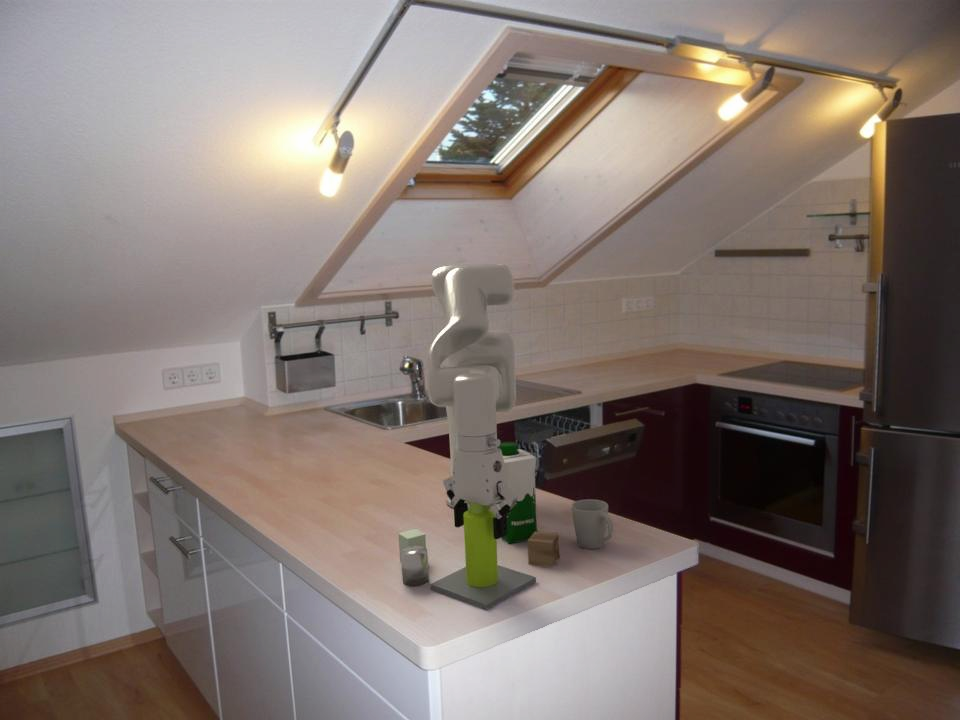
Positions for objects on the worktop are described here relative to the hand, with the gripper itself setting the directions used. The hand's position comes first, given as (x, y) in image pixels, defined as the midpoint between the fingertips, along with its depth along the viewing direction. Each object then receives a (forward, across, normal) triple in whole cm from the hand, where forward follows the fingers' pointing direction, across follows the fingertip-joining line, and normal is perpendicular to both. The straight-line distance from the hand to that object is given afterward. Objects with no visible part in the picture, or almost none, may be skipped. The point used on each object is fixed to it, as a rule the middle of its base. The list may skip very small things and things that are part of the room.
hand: (480, 530), depth 148 cm
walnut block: (+11, -2, -16) cm, 19 cm away
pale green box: (+11, +19, 0) cm, 22 cm away
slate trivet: (+11, 0, 0) cm, 11 cm away
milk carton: (+11, +11, -23) cm, 27 cm away
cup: (+11, -6, -28) cm, 30 cm away
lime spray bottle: (+10, 0, 0) cm, 10 cm away
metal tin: (+11, +12, +6) cm, 17 cm away
